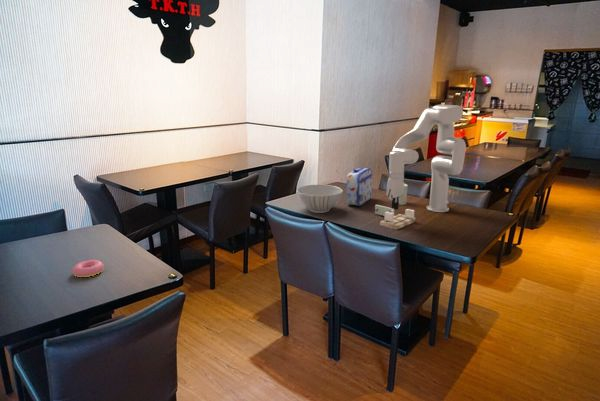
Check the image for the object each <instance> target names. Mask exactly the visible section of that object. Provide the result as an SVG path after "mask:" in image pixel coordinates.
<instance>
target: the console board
mask: <svg viewBox="0 0 600 401" xmlns="http://www.w3.org/2000/svg"><path fill="white" fill-rule="evenodd" d="M415 222H416V217H414V218H412V219H411V218H407V217H405V214H401V213H399V214H398V213H397V214H396V215H395V214H394V221H387V220H384V219H383V220H381V221H380V222H379V225H380V226H381V227H386V228H388V229H392V230H393V229H394V230H396V231H397V230H399V229H401V228H403V227H406V226H408V225H410V224H413V223H415Z"/></svg>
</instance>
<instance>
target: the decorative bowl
mask: <svg viewBox="0 0 600 401" xmlns="http://www.w3.org/2000/svg"><path fill="white" fill-rule="evenodd" d="M343 192H344V190H343V189H342V188H341V187H339V186H336V185H330V184H329V185H328V184H310V185H309V184H308V185H304V186H300V187H298V188H297V189H296V194H297V197H298V199H299V201H300V202H301V204H302V205H303V206H304V207H305V208H307V209H308V211H309V212H312V213H315V214H316V213H317V214H323V213H328V212H330V210H331V209H332V208H334V207H335V206H336V205H337V204H338V203H339V202H340V200H341V198H342V196H343Z"/></svg>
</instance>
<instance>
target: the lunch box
mask: <svg viewBox="0 0 600 401" xmlns="http://www.w3.org/2000/svg"><path fill="white" fill-rule="evenodd" d="M372 170H373V169H372V168H371V167H368V168H367V167H359V168H356V169H355V168H354V169H353V170H352V171H351V172H348V174H347V175H346V204H347V205H351V206H358V207H361V206H363V204H366V202H368V201H369V200H371V198H372V194H373V192H372V191H373V187H372V186H373V182H372V181H373V171H372Z"/></svg>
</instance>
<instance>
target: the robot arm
mask: <svg viewBox="0 0 600 401" xmlns="http://www.w3.org/2000/svg"><path fill="white" fill-rule="evenodd" d="M463 113H464V110H463V108H462V106H460V105H457V104H456V105H455V104H436V105H434V106H432V107H427V108H425V109H424V110H423V111H422V113H421V114H420V116H419V118H418V120H417V121H416V123H415V125H414V126H413V127H412V129H411V130H409V131H408V132H407V133H405V134H404V135H403V136H401V137H400V138H399V139H398V140H397V141H396V143H395V144H394V146H393V148H392V151H390V152H389V157H388V158H389V159H388V160H389V162H388V179H387V183H386V197H388V200H389V201H391V208H392V209H394V211H395V210H396V211H398V210H399V200H400V197H401V196H402V194H403V193H404V184H405V181H404V179H405V165H412V164H415V163H416V162H417V161H418V160H419V157H420V156H419V153H418V152H417V150H415V149H412V148H407V147H408V146H410V145H412V144H414V143H418V142H420V141H423V140H426V139H427V138H428V136H429V135H430V133H431V132H432V129H433V128H434V126H435V125H436V126H437V128H438V129H437V137H436V145H435V148H436V151H437V153H440V154H446V155H436V156H433V157H432V159H431V161H430V162H431V163H430V167H431V184H430V194H429V205H427V206H426V210H427V211H430V212H433V213H446V212H449V211H450V208H449V207H448V204H449V200H448V195H449V194H448V193H449V185H450V184H449V182H450V178H449V175H452V176H459V175H460V174H461V173H462V171H463V169H464V163H465V158H466V157H465V156H466V150H467V144H466V141H465V140H464V139H463V138H459V137H456V136H455V135H454V134H455V125H454V123H457V122H459V121H460V120H461V119H462V118H463V115H464V114H463ZM447 155H450V156H447Z"/></svg>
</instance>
